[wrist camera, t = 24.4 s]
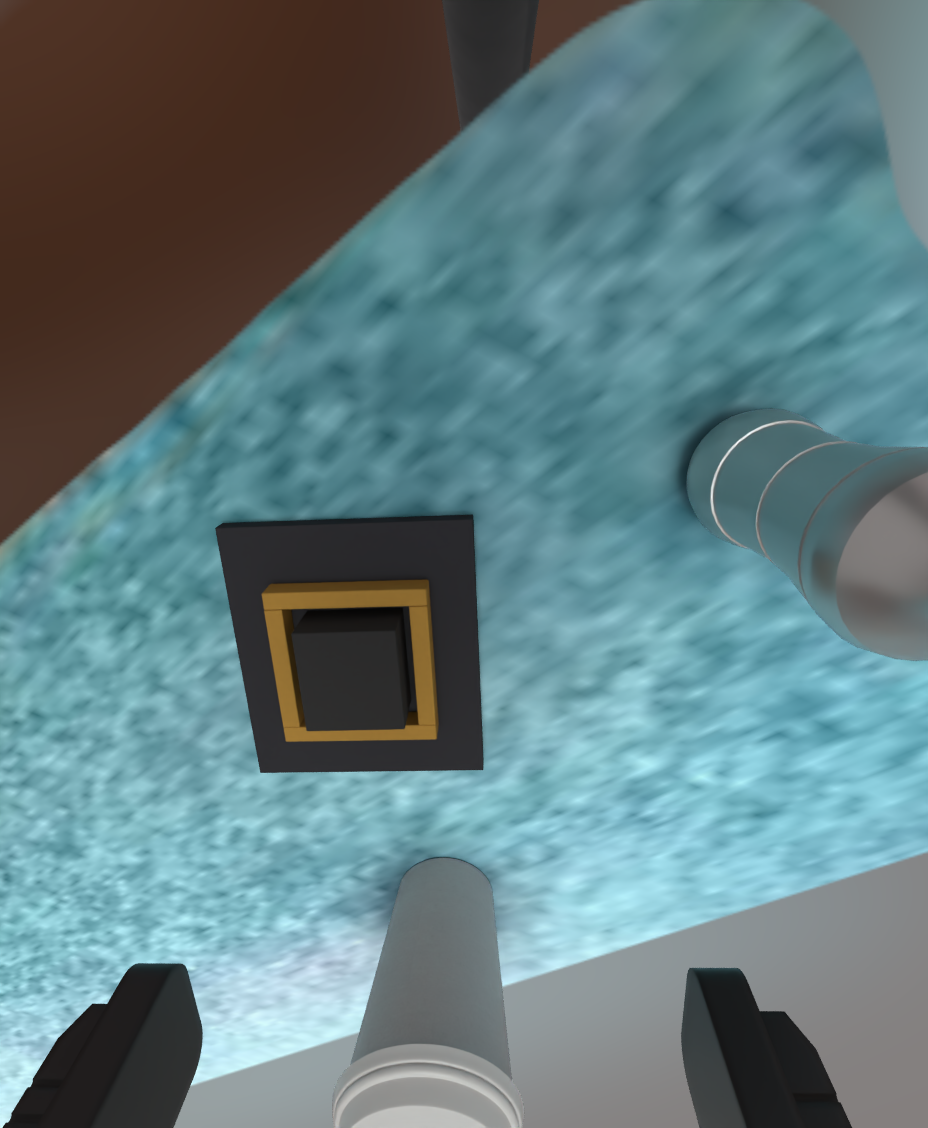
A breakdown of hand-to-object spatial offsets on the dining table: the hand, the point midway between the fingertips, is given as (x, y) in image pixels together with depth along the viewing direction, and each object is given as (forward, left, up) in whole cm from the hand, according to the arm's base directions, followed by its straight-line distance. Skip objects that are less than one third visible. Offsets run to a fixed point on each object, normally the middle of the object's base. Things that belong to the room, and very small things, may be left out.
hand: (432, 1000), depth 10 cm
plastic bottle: (-3, +14, -26) cm, 30 cm away
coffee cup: (+26, -3, -26) cm, 37 cm away
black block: (+7, -7, -25) cm, 27 cm away
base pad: (+7, -7, -26) cm, 28 cm away
